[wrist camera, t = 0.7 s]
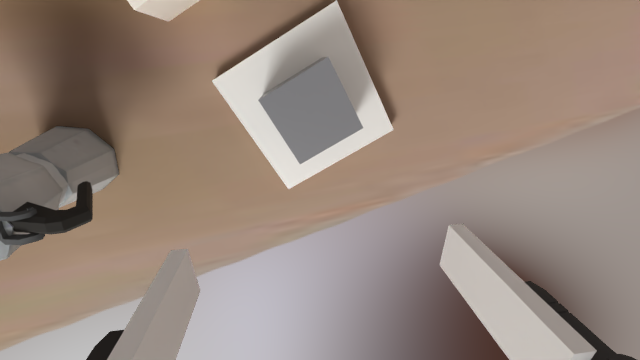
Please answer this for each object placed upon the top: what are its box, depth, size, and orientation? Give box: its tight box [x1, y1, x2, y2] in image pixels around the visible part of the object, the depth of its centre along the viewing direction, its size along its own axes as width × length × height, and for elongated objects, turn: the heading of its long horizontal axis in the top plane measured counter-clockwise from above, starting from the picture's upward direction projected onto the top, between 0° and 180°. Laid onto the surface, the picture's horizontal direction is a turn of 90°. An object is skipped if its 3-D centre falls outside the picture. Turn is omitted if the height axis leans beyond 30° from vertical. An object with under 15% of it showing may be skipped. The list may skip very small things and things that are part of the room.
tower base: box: [212, 0, 393, 189], centre depth 30 cm, size 16×16×6 cm
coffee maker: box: [0, 126, 119, 260], centre depth 25 cm, size 15×9×18 cm, turn 83°
